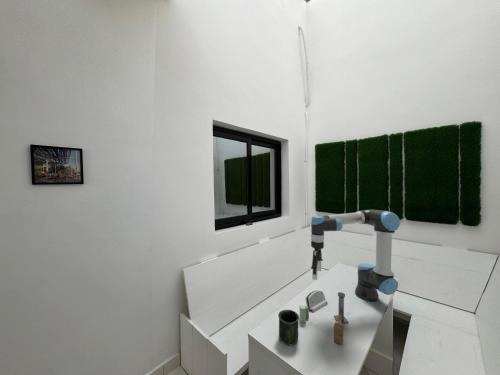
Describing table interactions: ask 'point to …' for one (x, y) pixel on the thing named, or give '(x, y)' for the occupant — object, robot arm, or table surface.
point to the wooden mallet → (338, 330)
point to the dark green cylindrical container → (288, 326)
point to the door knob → (341, 308)
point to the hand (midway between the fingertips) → (316, 274)
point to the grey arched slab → (315, 300)
